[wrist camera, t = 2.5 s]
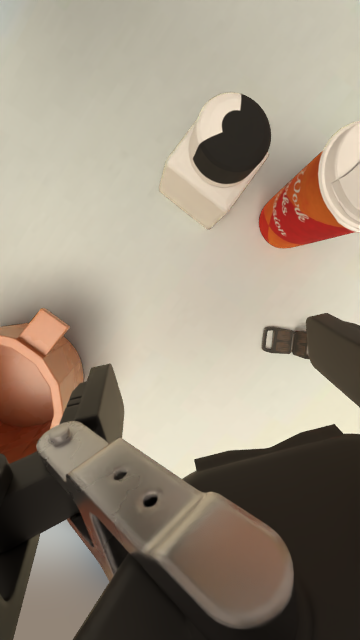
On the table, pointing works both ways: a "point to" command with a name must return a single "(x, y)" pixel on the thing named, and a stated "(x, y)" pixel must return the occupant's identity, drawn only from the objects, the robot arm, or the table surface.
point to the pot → (34, 381)
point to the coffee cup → (318, 196)
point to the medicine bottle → (217, 157)
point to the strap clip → (287, 342)
